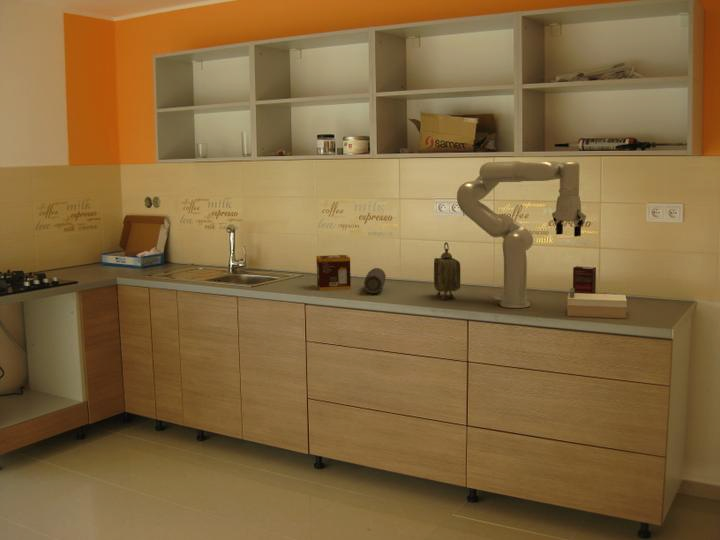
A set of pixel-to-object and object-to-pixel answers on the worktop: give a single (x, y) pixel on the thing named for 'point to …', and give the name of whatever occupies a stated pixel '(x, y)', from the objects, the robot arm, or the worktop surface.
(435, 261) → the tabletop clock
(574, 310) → the mailer base
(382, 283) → the bluetooth speaker
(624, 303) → the mailer lid
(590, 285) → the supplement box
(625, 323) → the worktop surface
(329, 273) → the supplement box
